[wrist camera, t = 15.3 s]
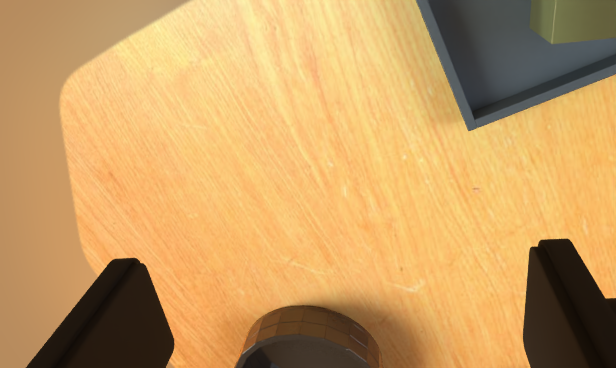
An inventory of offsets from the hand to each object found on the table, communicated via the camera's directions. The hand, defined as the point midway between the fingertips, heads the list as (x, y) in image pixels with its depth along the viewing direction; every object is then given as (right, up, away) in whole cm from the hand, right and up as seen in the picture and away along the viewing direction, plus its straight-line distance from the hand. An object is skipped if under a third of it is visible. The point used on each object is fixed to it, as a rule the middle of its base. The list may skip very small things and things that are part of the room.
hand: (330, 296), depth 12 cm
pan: (0, -14, +34) cm, 36 cm away
